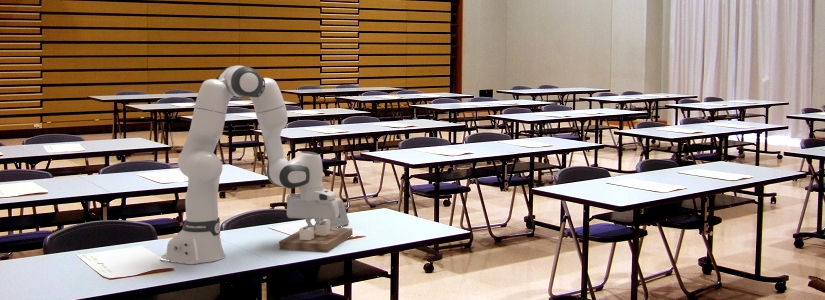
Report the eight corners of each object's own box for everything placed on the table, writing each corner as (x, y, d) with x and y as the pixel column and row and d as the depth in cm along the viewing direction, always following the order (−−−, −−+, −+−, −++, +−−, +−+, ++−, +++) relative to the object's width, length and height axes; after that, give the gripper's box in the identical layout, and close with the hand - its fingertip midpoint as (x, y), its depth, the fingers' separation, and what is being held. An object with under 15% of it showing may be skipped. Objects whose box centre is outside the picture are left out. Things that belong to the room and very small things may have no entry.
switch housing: (279, 249, 310) (278, 241, 310) (307, 233, 335) (307, 225, 334) (327, 252, 305) (327, 243, 304) (352, 235, 329) (352, 227, 329)
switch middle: (315, 235, 317) (315, 223, 317) (320, 232, 321) (319, 221, 320) (325, 235, 316) (325, 223, 315) (329, 233, 320) (329, 221, 319)
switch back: (316, 230, 326) (316, 218, 325) (320, 228, 329) (320, 216, 329) (326, 230, 325) (326, 219, 324) (330, 228, 328) (329, 216, 328)
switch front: (299, 239, 310) (299, 227, 310) (304, 237, 314) (303, 225, 314) (309, 240, 309) (309, 228, 309) (314, 237, 313) (313, 225, 313)
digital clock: (322, 232, 336) (321, 206, 335) (309, 229, 343) (308, 203, 342) (354, 226, 347) (353, 200, 346) (340, 223, 354) (340, 198, 352)
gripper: (283, 194, 318) (284, 230, 320) (333, 196, 312) (335, 233, 314) (289, 191, 324) (291, 227, 326) (339, 193, 318) (341, 229, 320)
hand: (313, 230), depth 320 cm, fingers closed
